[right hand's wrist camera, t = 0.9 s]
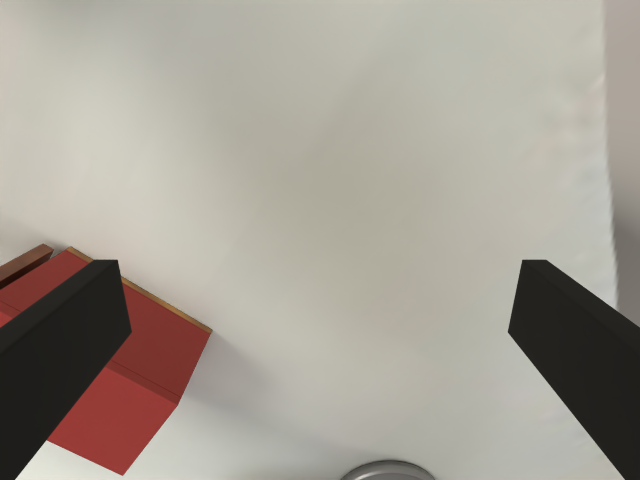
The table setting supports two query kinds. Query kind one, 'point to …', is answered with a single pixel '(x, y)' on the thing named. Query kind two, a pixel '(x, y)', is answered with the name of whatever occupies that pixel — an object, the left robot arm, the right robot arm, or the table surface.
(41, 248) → the drawer
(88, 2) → the table surface
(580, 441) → the table surface
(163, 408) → the cabinet
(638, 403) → the right robot arm
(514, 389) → the table surface
